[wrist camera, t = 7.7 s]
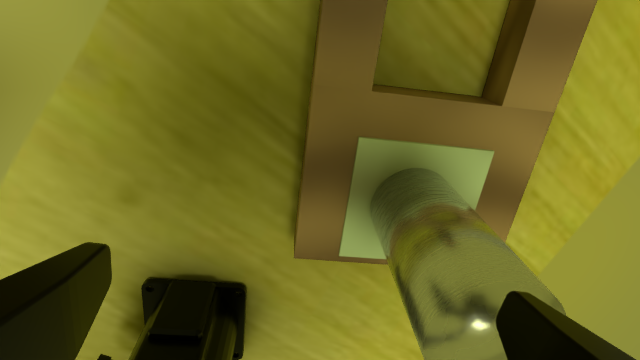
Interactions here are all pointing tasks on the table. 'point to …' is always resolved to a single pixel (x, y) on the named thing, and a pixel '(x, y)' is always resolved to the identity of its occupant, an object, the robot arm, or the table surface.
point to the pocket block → (425, 123)
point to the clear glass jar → (448, 266)
